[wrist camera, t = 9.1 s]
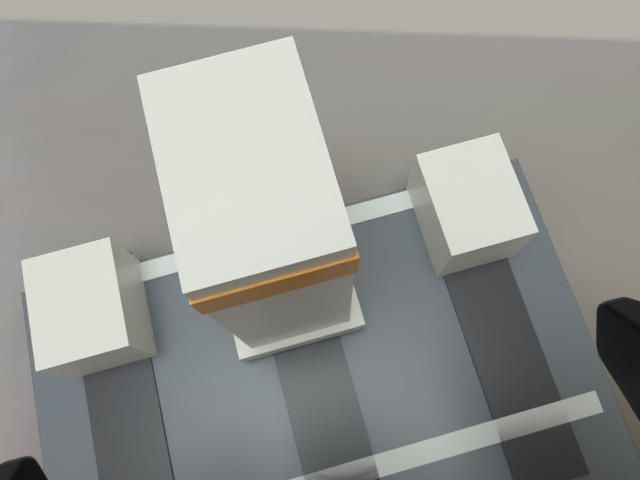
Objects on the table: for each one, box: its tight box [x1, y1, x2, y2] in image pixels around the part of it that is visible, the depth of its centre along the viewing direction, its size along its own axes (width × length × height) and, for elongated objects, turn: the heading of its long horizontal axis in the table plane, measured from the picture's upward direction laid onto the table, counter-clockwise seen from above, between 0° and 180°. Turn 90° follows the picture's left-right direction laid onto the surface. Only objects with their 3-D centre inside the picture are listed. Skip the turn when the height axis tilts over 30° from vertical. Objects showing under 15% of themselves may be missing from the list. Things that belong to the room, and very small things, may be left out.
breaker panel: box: [21, 133, 640, 480], centre depth 16 cm, size 14×16×4 cm
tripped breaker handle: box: [137, 36, 365, 362], centre depth 14 cm, size 4×4×8 cm
